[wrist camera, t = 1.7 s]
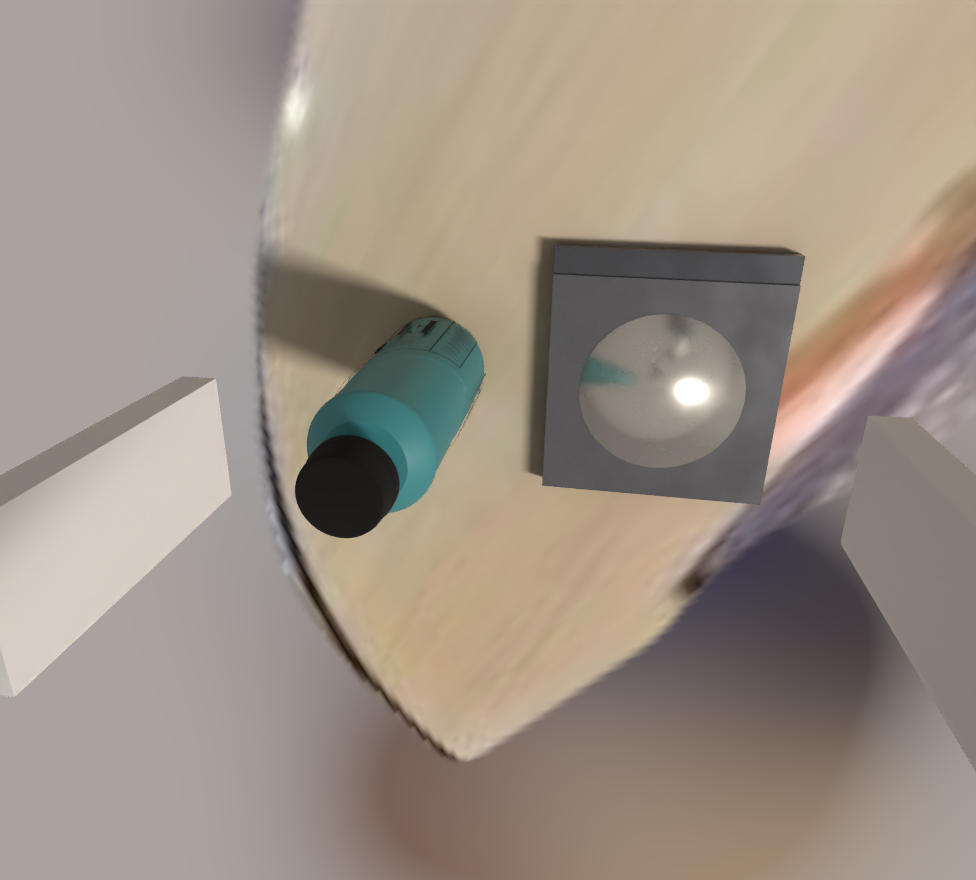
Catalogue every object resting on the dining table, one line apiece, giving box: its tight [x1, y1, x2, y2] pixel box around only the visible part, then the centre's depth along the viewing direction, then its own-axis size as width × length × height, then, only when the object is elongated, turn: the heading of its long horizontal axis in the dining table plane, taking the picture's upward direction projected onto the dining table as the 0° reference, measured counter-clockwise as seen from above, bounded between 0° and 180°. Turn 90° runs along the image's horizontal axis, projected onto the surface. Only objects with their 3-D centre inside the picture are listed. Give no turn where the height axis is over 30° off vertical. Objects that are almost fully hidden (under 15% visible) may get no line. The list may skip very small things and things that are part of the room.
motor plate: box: [542, 244, 805, 505], centre depth 45 cm, size 16×14×1 cm
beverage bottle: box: [295, 316, 486, 538], centre depth 39 cm, size 6×7×20 cm
